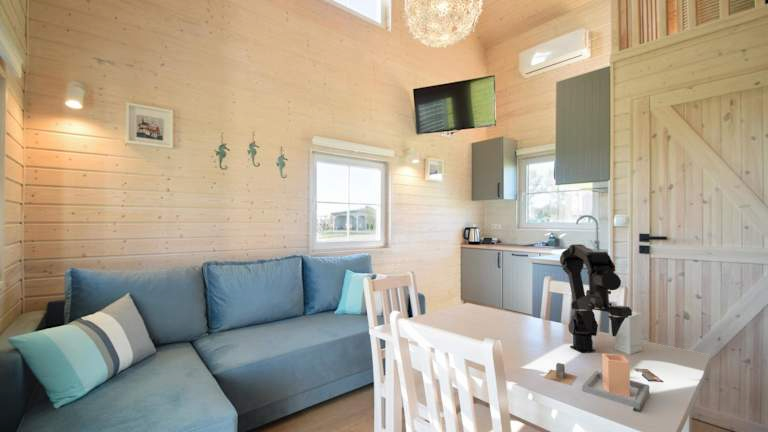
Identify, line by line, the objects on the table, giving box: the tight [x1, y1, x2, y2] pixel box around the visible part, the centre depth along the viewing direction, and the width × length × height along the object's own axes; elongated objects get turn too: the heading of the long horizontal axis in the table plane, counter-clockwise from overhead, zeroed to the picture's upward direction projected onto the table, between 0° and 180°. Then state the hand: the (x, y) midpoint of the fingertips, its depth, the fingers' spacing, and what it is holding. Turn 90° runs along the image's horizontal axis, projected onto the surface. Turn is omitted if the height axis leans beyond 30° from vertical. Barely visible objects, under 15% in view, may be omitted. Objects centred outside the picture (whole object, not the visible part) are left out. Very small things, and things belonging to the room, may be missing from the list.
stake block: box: [543, 362, 578, 386], centre depth 114 cm, size 8×8×5 cm
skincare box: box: [614, 310, 643, 355], centre depth 138 cm, size 8×6×15 cm
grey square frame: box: [581, 370, 650, 413], centre depth 105 cm, size 14×14×2 cm
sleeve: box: [601, 353, 631, 398], centre depth 105 cm, size 5×5×10 cm
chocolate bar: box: [634, 368, 665, 383], centre depth 117 cm, size 11×5×1 cm, turn 170°
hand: (601, 333), depth 122 cm, fingers open, 9 cm apart
